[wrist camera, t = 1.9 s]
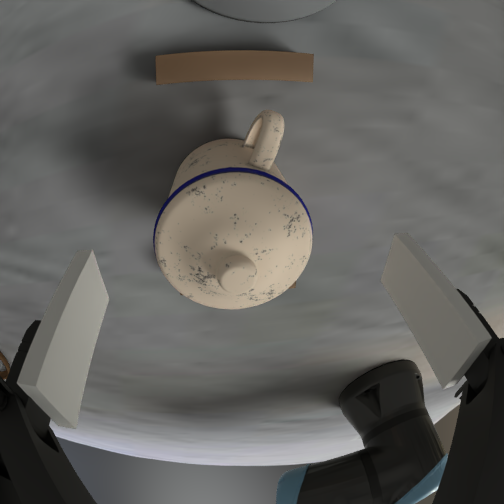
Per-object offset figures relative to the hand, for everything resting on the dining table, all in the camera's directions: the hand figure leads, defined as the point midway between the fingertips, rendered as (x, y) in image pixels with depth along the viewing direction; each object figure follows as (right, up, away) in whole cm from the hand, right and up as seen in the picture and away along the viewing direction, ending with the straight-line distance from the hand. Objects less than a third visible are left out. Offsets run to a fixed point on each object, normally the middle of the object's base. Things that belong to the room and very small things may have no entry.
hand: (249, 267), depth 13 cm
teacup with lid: (-1, +7, +11) cm, 13 cm away
